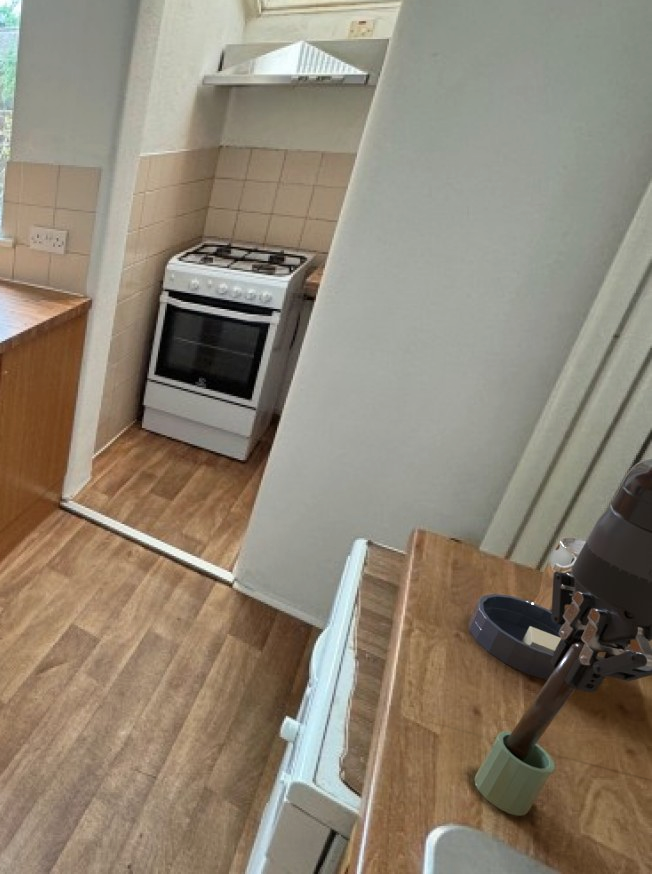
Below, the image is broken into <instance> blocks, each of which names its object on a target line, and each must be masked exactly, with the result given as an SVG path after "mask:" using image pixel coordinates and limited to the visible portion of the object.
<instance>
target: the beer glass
mask: <svg viewBox="0 0 652 874" xmlns="http://www.w3.org/2000/svg"><path fill="white" fill-rule="evenodd" d="M586 541H587V539H584V538H581V537H578V536H577V537H576V536H562V537H560V538H559V540H558V542H557V543H556V545H555V546H554V547H553V549H552V551H551V552H550V554H549V555H548V557H547V560H546V562H545V564H544V567H543V571H542V576H541V583H540V587H539V591H538V593H537V595H536V596H535V598H534V599H533V600H532V601H531V602H532V603H534V604H536V605H539V606H541V607H544V608H546V609H548V610H550V611H551V612H552V595H553V576H554V573H555V572H556V571H558V572H563V573H570V574H572V567H573V565H574V563H575V561H576V559H577V557H578V555H579V554H580V552H581V550H582V548H583V546H584V544H585V543H586ZM569 594H570V593H569ZM569 606H570V605H565V612H566V610H567V609H568V607H569Z"/></svg>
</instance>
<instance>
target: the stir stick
mask: <svg viewBox="0 0 652 874" xmlns="http://www.w3.org/2000/svg"><path fill="white" fill-rule="evenodd" d="M584 644H585V643H584V642H575V643H573V644H572V645H571V647H570V648H569V650H568V651H567V653H566V654H565V655H564V657H563V658H562V660H561V661H560V663H559V664H558V666H557V667H556V669H555V670H554V671H553V673H552V674H551V676H550V677H549V679H548V680H546V682H545V683H544V685H543V686H542V687H541V689H540V691H539V692H538V693H537V695H536V696H535V698H533V700H532V702H531V703H530V705H529V706H528V708H527V709H526V711H525V712H524V714H523V715H522V716H521V717H520V720H519V721H518V723H517V724H516V725H515V726H514V727H513V730H512V731H511V732H512V733H511V734H510V736H509V737H508V739H507V740H506V741H505V743H504V745H505V746H506V748H507V749H508V750H509V751H510V752H511V753H512V754H513V755H514V756H515V757H516V758H518V759H519V760H521V761H522V760H524V759H525V758H526V757H527V755H528V754H529V753H530V751H531V750H532V748H533V747H534V746H535V744H536V743H537V744H538V741H539V740H540V739H541V737H542V736H543V735H544V733H545V732H546V731H547V729H548V728H549V726H550V725H551V723H552V722H553V721H554V719H555V718H556V717H557V715H558V714H559V712H560V711H561V709H562V708H563V707H564V705H565V704H566V702H568V700H569V698H571V696H572V694H573V693H574V691H575V690H576V689H573V688H570V687H569V686H568V684H567V683H566V682H565V678H566V676H567V674H568V673H569V671H570V669H571V668H572V666H573V664H574V663H575V661H576V659H577V658H579V655H580V653H581V651H582V649H583V646H584ZM597 656H599V653H598V654H597Z"/></svg>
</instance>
